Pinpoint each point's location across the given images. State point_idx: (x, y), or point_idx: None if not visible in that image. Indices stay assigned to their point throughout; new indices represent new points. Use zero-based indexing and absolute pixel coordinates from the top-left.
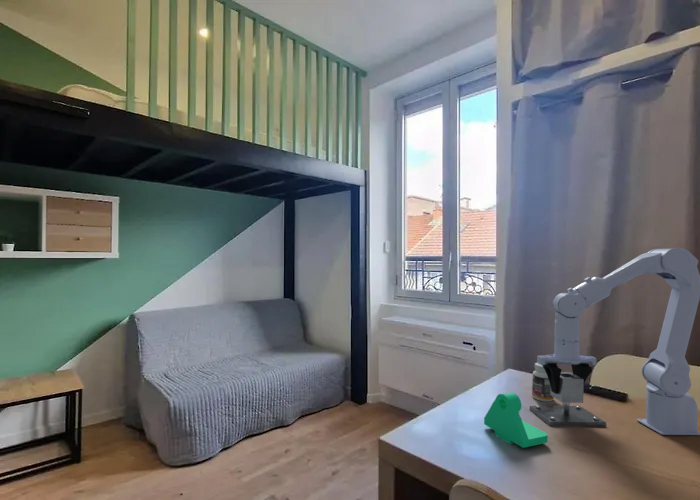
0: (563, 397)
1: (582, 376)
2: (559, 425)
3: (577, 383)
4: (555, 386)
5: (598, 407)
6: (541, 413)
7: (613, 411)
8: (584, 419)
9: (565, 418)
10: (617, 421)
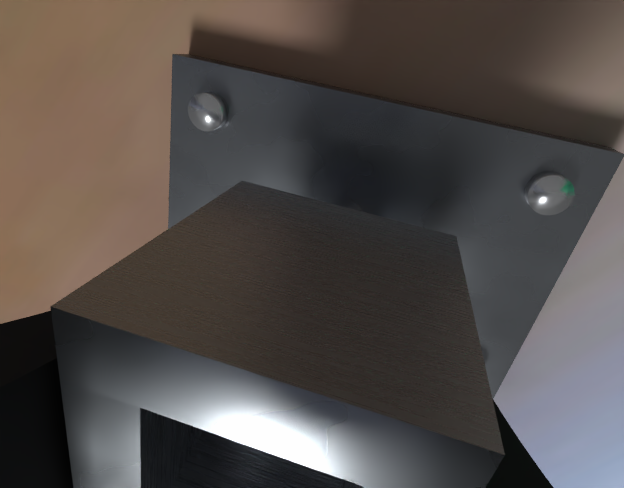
0: (446, 256)
1: (16, 374)
2: (530, 130)
3: (212, 295)
4: (494, 407)
5: (63, 282)
6: (530, 294)
7: (16, 222)
8: (292, 129)
9: (423, 178)
10: (69, 105)
